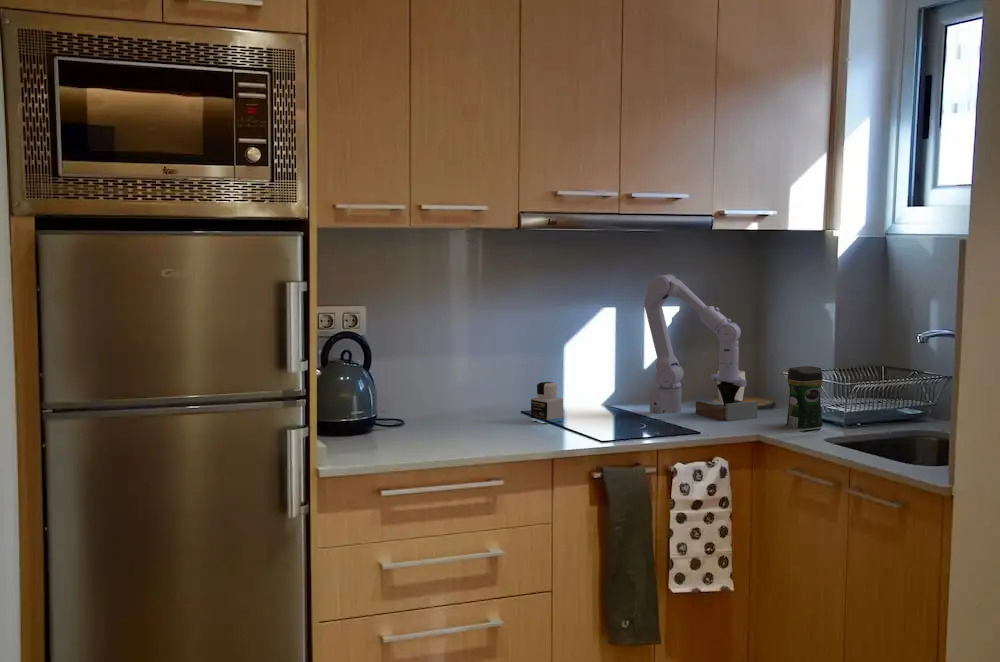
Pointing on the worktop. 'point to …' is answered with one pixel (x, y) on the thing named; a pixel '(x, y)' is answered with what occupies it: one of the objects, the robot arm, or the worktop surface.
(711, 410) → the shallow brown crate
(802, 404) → the coffee jar
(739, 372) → the cup
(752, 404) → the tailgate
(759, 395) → the worktop surface
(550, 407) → the medicine bottle
